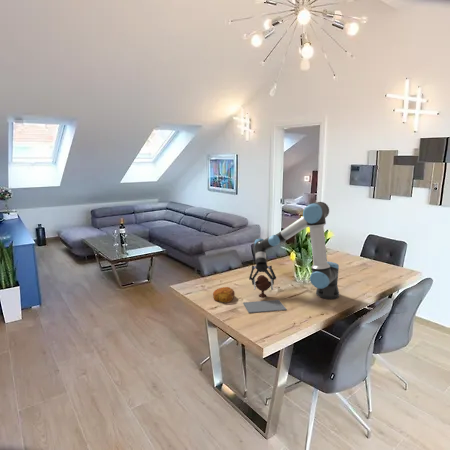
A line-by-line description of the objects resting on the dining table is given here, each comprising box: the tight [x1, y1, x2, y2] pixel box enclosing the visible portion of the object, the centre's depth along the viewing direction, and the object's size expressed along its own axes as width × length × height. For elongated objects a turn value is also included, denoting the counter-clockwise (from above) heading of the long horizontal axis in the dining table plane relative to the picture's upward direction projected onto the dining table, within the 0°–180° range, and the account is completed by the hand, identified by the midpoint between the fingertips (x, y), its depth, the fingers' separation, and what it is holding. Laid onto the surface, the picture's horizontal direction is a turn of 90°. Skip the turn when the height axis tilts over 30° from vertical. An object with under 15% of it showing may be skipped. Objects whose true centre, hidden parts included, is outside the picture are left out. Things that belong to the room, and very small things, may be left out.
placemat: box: [242, 299, 287, 314], centre depth 211 cm, size 24×14×1 cm, turn 101°
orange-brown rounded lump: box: [212, 286, 236, 303], centre depth 223 cm, size 14×16×8 cm
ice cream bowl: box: [255, 274, 271, 299], centre depth 226 cm, size 11×11×15 cm
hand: (263, 289), depth 223 cm, fingers closed on ice cream bowl, 11 cm apart
